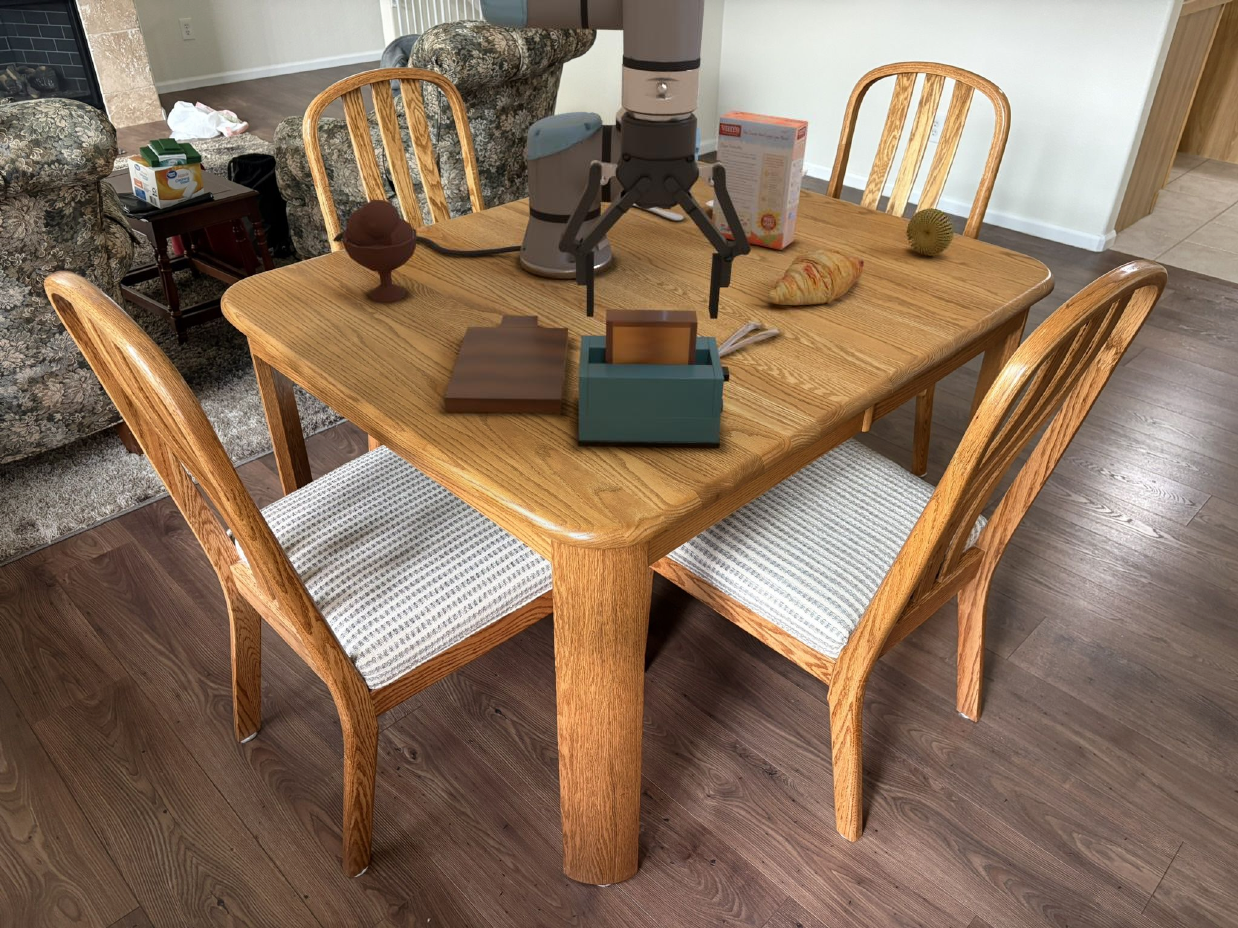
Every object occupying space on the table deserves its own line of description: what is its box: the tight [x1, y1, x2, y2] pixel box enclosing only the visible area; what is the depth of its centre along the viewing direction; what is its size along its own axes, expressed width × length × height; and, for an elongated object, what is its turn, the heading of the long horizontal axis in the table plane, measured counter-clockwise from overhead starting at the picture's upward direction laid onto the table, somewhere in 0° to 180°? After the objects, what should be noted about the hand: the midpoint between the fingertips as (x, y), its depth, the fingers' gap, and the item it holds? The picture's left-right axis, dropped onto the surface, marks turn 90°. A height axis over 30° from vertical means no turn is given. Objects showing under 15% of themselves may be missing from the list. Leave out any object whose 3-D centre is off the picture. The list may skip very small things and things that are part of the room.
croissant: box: [767, 249, 865, 306], centre depth 141 cm, size 21×10×8 cm, turn 130°
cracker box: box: [711, 110, 809, 251], centre depth 156 cm, size 14×6×21 cm, turn 58°
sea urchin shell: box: [906, 207, 955, 257], centre depth 155 cm, size 8×4×8 cm, turn 48°
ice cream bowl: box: [341, 199, 418, 303], centre depth 135 cm, size 11×11×15 cm
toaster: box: [576, 334, 731, 449], centre depth 106 cm, size 17×11×9 cm, turn 90°
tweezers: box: [718, 321, 780, 358], centre depth 125 cm, size 18×5×2 cm, turn 136°
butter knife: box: [632, 204, 684, 222], centre depth 176 cm, size 1×24×3 cm
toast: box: [605, 308, 699, 365], centre depth 103 cm, size 10×3×10 cm, turn 90°
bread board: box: [444, 314, 569, 414], centre depth 119 cm, size 24×14×2 cm, turn 0°
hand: (651, 313), depth 100 cm, fingers open, 13 cm apart
